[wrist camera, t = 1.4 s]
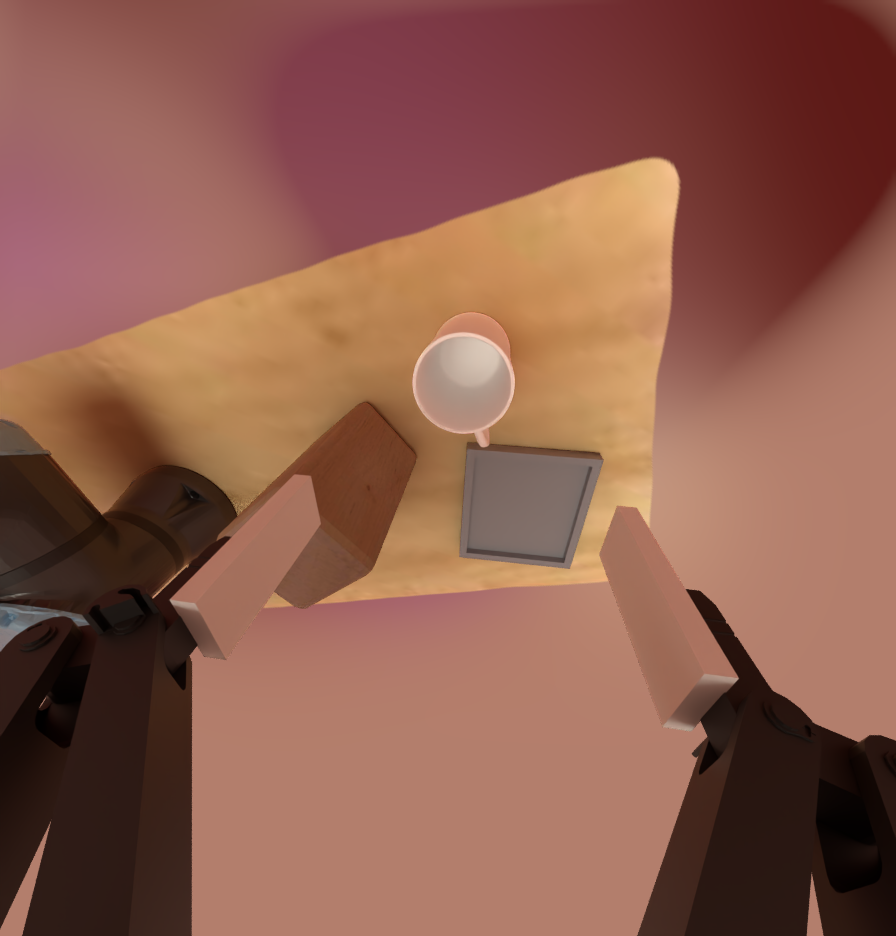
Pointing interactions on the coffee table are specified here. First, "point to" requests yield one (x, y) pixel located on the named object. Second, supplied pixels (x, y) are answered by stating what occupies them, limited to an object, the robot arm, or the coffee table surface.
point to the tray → (526, 503)
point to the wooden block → (343, 503)
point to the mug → (465, 376)
